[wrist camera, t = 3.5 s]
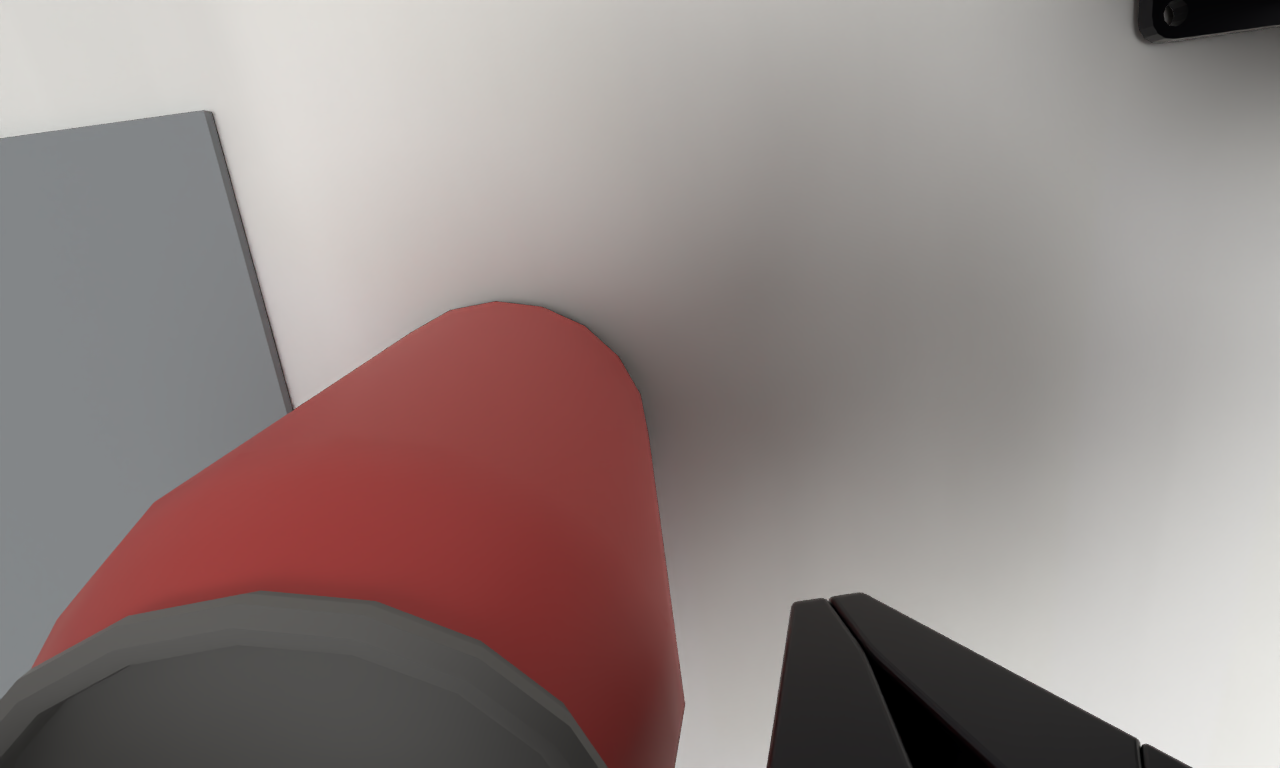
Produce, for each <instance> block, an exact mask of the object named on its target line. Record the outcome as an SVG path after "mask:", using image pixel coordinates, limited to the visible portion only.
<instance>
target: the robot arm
mask: <svg viewBox="0 0 1280 768" xmlns="http://www.w3.org/2000/svg"><path fill="white" fill-rule="evenodd" d="M1167 5H1169V6H1170V7H1171V8H1172V9H1173V15H1174V17H1173V20H1172V23H1171V24H1170V25H1168V24H1167V23H1166V22H1165V20H1164V11H1165V8H1166V6H1167ZM1138 23H1139V30H1140V32H1141V34H1142V35H1143V37H1144V38H1145V39H1147V40H1148V41H1150V42H1153V43H1165V42H1172V41H1179V40H1186V39H1194V38H1201V37H1208V36H1215V35H1223V34H1230V33H1237V32H1244V31H1252V30H1259V29H1266V28H1273V27H1280V0H1139V14H1138ZM767 768H1192V767H1190V766H1188V765H1186V764H1185V763H1183V762H1181V761H1179V760H1177V759H1175V758H1173V757H1171V756H1170V755H1168V754H1166V753H1164V752H1162V751H1160V750H1158V749H1156V748H1155V747H1153V746H1151V745H1149V744H1143V745H1142V746H1141V745H1140V742H1139V740H1138V739H1137V738H1135V737H1133V736H1131V735H1130V734H1128V733H1126V732H1124V731H1122V730H1120V729H1118V728H1116V727H1115V726H1113V725H1111V724H1109V723H1107V722H1105V721H1103V720H1101V719H1100V718H1098V717H1096V716H1094V715H1092V714H1090V713H1088V712H1086V711H1085V710H1083V709H1081V708H1079V707H1077V706H1075V705H1073V704H1071V703H1069V702H1068V701H1066V700H1064V699H1062V698H1060V697H1058V696H1056V695H1054V694H1053V693H1051V692H1049V691H1047V690H1045V689H1043V688H1041V687H1039V686H1038V685H1036V684H1034V683H1032V682H1030V681H1028V680H1026V679H1024V678H1023V677H1021V676H1019V675H1017V674H1015V673H1013V672H1011V671H1009V670H1008V669H1006V668H1004V667H1002V666H1000V665H998V664H996V663H994V662H993V661H991V660H989V659H987V658H985V657H983V656H981V655H979V654H977V653H976V652H974V651H972V650H970V649H968V648H966V647H964V646H962V645H961V644H959V643H957V642H955V641H953V640H951V639H949V638H947V637H946V636H944V635H942V634H940V633H938V632H936V631H934V630H932V629H931V628H929V627H927V626H925V625H923V624H921V623H919V622H917V621H916V620H914V619H912V618H910V617H908V616H906V615H904V614H902V613H901V612H899V611H897V610H895V609H893V608H891V607H889V606H887V605H885V604H884V603H882V602H880V601H878V600H876V599H874V598H872V597H870V596H869V595H867V594H864V593H852V594H845V595H839V596H833V597H831V598H830V599H829V601H827V600H826V599H824V598H818V599H811V600H804V601H797V602H794V603H793V604H792V606H791V612H790V618H789V625H788V631H787V638H786V645H785V651H784V658H783V664H782V671H781V677H780V684H779V690H778V697H777V704H776V710H775V717H774V723H773V730H772V736H771V743H770V750H769V756H768V763H767Z"/></svg>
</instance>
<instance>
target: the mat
mask: <svg viewBox="0 0 1280 768" xmlns="http://www.w3.org/2000/svg"><path fill="white" fill-rule="evenodd" d="M291 411H293V409H292V406H291V402H290V398H289V395H288V391H287V387H286V384H285V380H284V376H283V373H282V369H281V365H280V362H279V358H278V354H277V351H276V347H275V343H274V340H273V336H272V332H271V329H270V325H269V321H268V318H267V314H266V310H265V307H264V303H263V299H262V296H261V292H260V288H259V285H258V281H257V277H256V274H255V270H254V266H253V263H252V259H251V255H250V252H249V248H248V244H247V240H246V237H245V233H244V229H243V226H242V222H241V218H240V215H239V211H238V207H237V204H236V200H235V196H234V193H233V189H232V185H231V182H230V178H229V174H228V171H227V167H226V163H225V160H224V156H223V152H222V149H221V145H220V141H219V138H218V134H217V130H216V127H215V123H214V119H213V116H212V112H209V111H205V110H202V111H195V112H188V113H180V114H173V115H166V116H159V117H151V118H144V119H137V120H130V121H122V122H115V123H108V124H101V125H93V126H86V127H79V128H72V129H65V130H57V131H50V132H43V133H36V134H28V135H21V136H14V137H7V138H0V700H1V699H2V697H3V696H4V695H5V694H6V693H7V691H8V690H9V689H10V688H11V687H12V685H13V684H14V683H15V682H16V681H17V680H18V679H19V678H20V677H22V676H23V675H24V674H25V673H27V672H28V671H29V670H30V669H31V668H32V666H33V664H34V662H35V660H36V659H37V657H38V655H39V653H40V651H41V649H42V647H43V645H44V643H45V641H46V640H47V638H48V636H49V634H50V632H51V630H52V628H53V626H54V624H55V622H56V620H57V619H58V618H59V616H60V615H61V614H62V613H63V611H64V610H65V609H66V608H67V607H68V605H69V604H70V603H71V602H72V600H73V599H74V598H75V597H76V596H77V594H78V593H79V592H80V591H81V589H82V588H83V587H84V586H85V585H86V583H87V582H88V581H89V580H90V578H91V577H92V576H93V575H94V574H95V572H96V571H97V570H98V569H99V568H100V566H101V565H102V564H103V563H104V562H105V560H106V559H107V558H108V557H109V556H110V554H111V553H112V552H113V551H114V550H115V548H116V547H117V546H118V545H119V544H120V542H121V541H122V540H123V539H124V538H125V536H126V535H127V534H128V533H129V532H130V530H131V529H132V528H133V527H134V526H135V524H136V523H137V522H138V521H139V520H140V518H141V517H142V516H143V515H144V514H145V512H146V511H147V510H148V509H149V508H150V506H151V505H152V504H153V503H154V502H155V501H157V500H158V499H160V498H161V497H163V496H164V495H166V494H167V493H169V492H170V491H172V490H173V489H175V488H176V487H178V486H179V485H181V484H182V483H184V482H185V481H187V480H188V479H190V478H191V477H193V476H195V475H196V474H198V473H199V472H201V471H202V470H204V469H205V468H207V467H208V466H210V465H211V464H213V463H214V462H216V461H217V460H219V459H220V458H222V457H223V456H225V455H226V454H228V453H229V452H231V451H232V450H234V449H235V448H237V447H238V446H240V445H241V444H243V443H244V442H246V441H247V440H249V439H251V438H252V437H254V436H255V435H257V434H258V433H260V432H261V431H263V430H264V429H266V428H267V427H269V426H270V425H272V424H273V423H275V422H276V421H278V420H279V419H281V418H282V417H284V416H285V415H287V414H288V413H290V412H291Z"/></svg>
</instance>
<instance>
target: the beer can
mask: <svg viewBox="0 0 1280 768" xmlns="http://www.w3.org/2000/svg"><path fill="white" fill-rule="evenodd" d="M684 708H685V701H684V694H683V686H682V679H681V671H680V664H679V657H678V649H677V642H676V634H675V627H674V620H673V612H672V605H671V597H670V590H669V582H668V575H667V568H666V560H665V553H664V545H663V538H662V531H661V523H660V516H659V508H658V501H657V494H656V486H655V479H654V471H653V464H652V456H651V449H650V442H649V435H648V430H647V425H646V420H645V415H644V410H643V405H642V400H641V395H640V393H639V391H638V389H637V388H636V386H635V384H634V382H633V381H632V379H631V377H630V375H629V374H628V372H627V370H626V369H625V367H624V365H623V363H622V362H621V360H620V358H619V356H617V355H616V354H615V353H614V352H613V351H612V350H611V349H610V348H609V347H607V346H606V345H605V344H604V343H603V342H602V341H601V340H600V339H599V338H597V337H596V336H595V335H594V334H593V333H592V332H591V331H590V330H589V329H588V328H586V327H585V326H584V325H581V324H579V323H577V322H575V321H573V320H570V319H568V318H566V317H564V316H562V315H559V314H557V313H555V312H553V311H550V310H548V309H546V308H544V307H540V306H531V305H523V304H515V303H506V302H498V301H495V302H489V303H484V304H479V305H474V306H469V307H464V308H459V309H454V310H450V311H448V312H446V313H444V314H443V315H441V316H439V317H437V318H436V319H434V320H432V321H430V322H429V323H427V324H425V325H423V326H422V327H420V328H418V329H416V330H414V331H413V332H411V333H409V334H408V335H406V336H405V337H403V338H402V339H400V340H399V341H397V342H396V343H394V344H393V345H391V346H390V347H388V348H387V349H385V350H384V351H382V352H381V353H379V354H378V355H376V356H375V357H373V358H372V359H370V360H369V361H367V362H366V363H364V364H363V365H361V366H360V367H358V368H356V369H355V370H353V371H352V372H350V373H349V374H347V375H346V376H344V377H343V378H341V379H340V380H338V381H337V382H335V383H334V384H332V385H331V386H329V387H328V388H326V389H325V390H323V391H322V392H320V393H319V394H317V395H316V396H314V397H313V398H311V399H310V400H308V401H307V402H305V403H303V404H302V405H300V406H299V407H297V408H296V409H294V410H293V411H291V412H290V413H288V414H287V415H285V416H284V417H282V418H281V419H279V420H278V421H276V422H275V423H273V424H272V425H270V426H269V427H267V428H266V429H264V430H263V431H261V432H260V433H258V434H257V435H255V436H254V437H252V438H251V439H249V440H247V441H246V442H244V443H243V444H241V445H240V446H238V447H237V448H235V449H234V450H232V451H231V452H229V453H228V454H226V455H225V456H223V457H222V458H220V459H219V460H217V461H216V462H214V463H213V464H211V465H210V466H208V467H207V468H205V469H204V470H202V471H201V472H199V473H198V474H196V475H195V476H193V477H191V478H190V479H188V480H187V481H185V482H184V483H182V484H181V485H179V486H178V487H176V488H175V489H173V490H172V491H170V492H169V493H167V494H166V495H164V496H163V497H161V498H160V499H158V500H157V501H155V502H154V503H153V504H152V505H151V506H150V508H149V509H148V510H147V511H146V512H145V514H144V515H143V516H142V517H141V518H140V520H139V521H138V522H137V523H136V524H135V526H134V527H133V528H132V529H131V530H130V532H129V533H128V534H127V535H126V536H125V538H124V539H123V540H122V541H121V542H120V544H119V545H118V546H117V547H116V548H115V550H114V551H113V552H112V553H111V554H110V556H109V557H108V558H107V559H106V560H105V562H104V563H103V564H102V565H101V566H100V568H99V569H98V570H97V571H96V572H95V574H94V575H93V576H92V577H91V578H90V580H89V581H88V582H87V583H86V585H85V586H84V587H83V588H82V589H81V591H80V592H79V593H78V594H77V596H76V597H75V598H74V599H73V600H72V602H71V603H70V604H69V605H68V607H67V608H66V609H65V610H64V611H63V613H62V614H61V615H60V616H59V618H58V619H57V620H56V622H55V624H54V626H53V628H52V630H51V632H50V634H49V636H48V638H47V640H46V641H45V643H44V645H43V647H42V649H41V651H40V653H39V655H38V657H37V659H36V660H35V662H34V664H33V666H32V668H31V669H30V670H29V671H28V672H27V673H25V674H24V675H23V676H22V677H20V678H19V679H18V680H17V681H16V682H15V683H14V684H13V685H12V687H11V688H10V689H9V690H8V691H7V693H6V694H5V695H4V696H3V697H2V699H1V700H0V768H675V762H676V756H677V750H678V744H679V738H680V732H681V726H682V720H683V714H684Z"/></svg>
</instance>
